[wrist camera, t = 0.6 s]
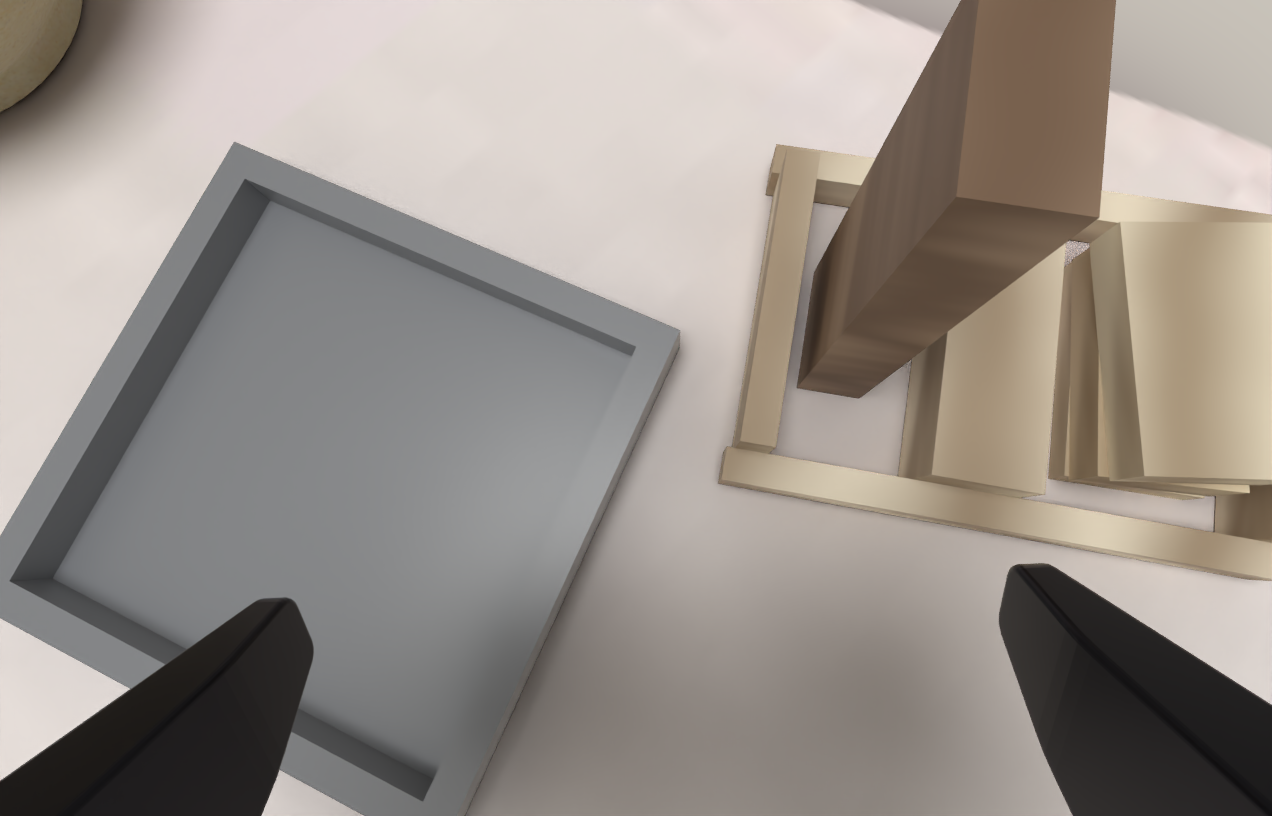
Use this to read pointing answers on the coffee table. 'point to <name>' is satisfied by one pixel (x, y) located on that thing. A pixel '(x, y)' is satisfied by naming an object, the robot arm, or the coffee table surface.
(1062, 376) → the offcut
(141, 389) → the tray
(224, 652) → the robot arm
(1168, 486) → the offcut
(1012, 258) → the walnut block
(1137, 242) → the offcut
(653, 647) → the coffee table surface
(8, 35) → the planter bowl
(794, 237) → the offcut rack
